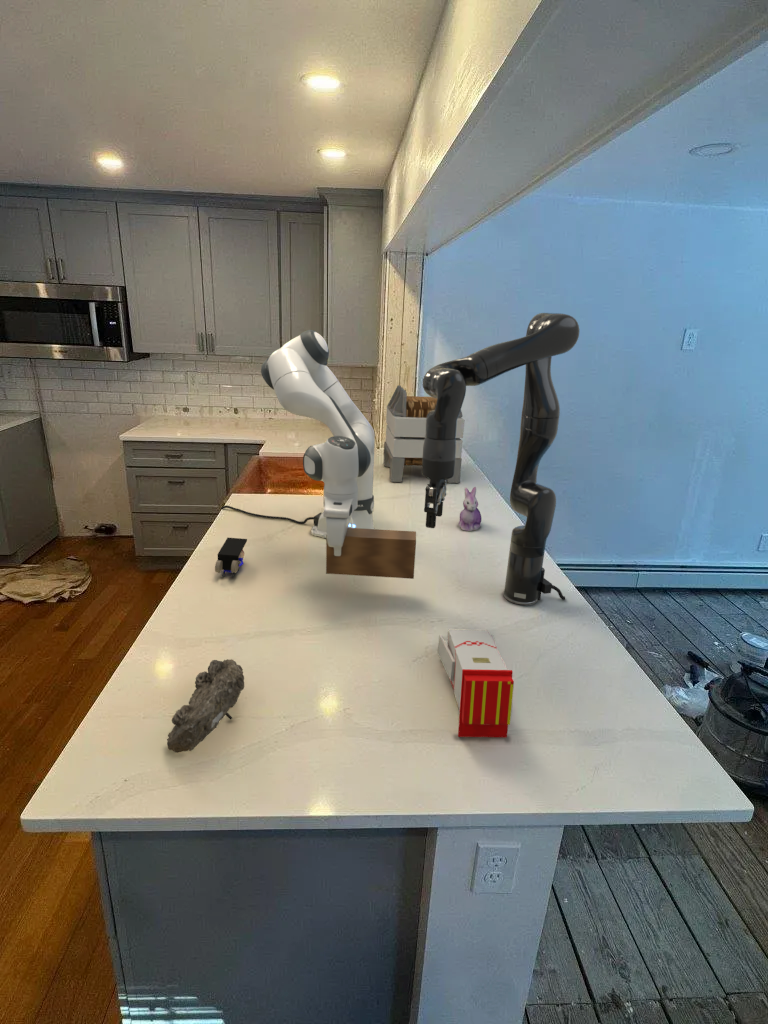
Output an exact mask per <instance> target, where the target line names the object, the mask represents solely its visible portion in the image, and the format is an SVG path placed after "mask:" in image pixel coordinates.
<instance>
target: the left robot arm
mask: <svg viewBox="0 0 768 1024" xmlns="http://www.w3.org/2000/svg"><path fill="white" fill-rule="evenodd" d="M329 357H330V349H329V346H328V343H327V341H326V340H325V338H324V337H323V336H322V335H321V334H320V333H319V332H318V331H316V330H314V329H307V330H305V331H302V332H301V333H300V334H299V335H297V336H295V337H294V338H292V339H290V340H289V341H287V342H286V343H284V344H283V345H282V346H281V347H280V348H278V349H276V350H274V351H273V352H272V353H271V354H270V355H269V356H268V357H267V358H266V359H265V360H264V361H263V362H262V363H261V367H260V374H261V377H262V379H263V380H264V382H265V383H266V384H267V386H268V387H270V389H272V390H273V391H274V393H275V396H276V398H277V401H278V402H279V404H280V405H281V407H282V408H283V409H284V410H285V411H287V412H288V413H290V414H292V415H296V416H299V417H300V416H301V417H304V418H305V417H306V418H310V419H313V420H316V421H318V422H321V423H322V424H324V425H325V426H326V427H327V428H328V429H329V431H330V432H331V434H332V436H330V437H328V438H327V439H326V440H325V442H321V443H317V444H313V445H310V446H308V447H307V449H306V450H305V452H304V454H303V456H302V467H303V471H304V473H305V475H307V476H308V477H309V478H310V479H312V480H313V481H316V482H323V512H319V513H317V514H316V515H313V516H309V517H306V518H305V519H304V520H303V521H300V520H299V521H298V520H295V519H293V518H292V517H291V518H290V517H286V516H273V515H264V514H258V513H253V512H249V511H245V510H243V509H240V508H236V507H233V506H231V505H223V506H221V508H220V510H224V509H230V510H233V511H236V512H240V513H242V514H245V515H248V516H252V517H258V518H263V519H272V520H284V521H290V522H292V523H295V524H298V525H304V524H306V523H307V522H308V521H311V520H312V521H313V526H312V528H311V530H310V533H311V536H315V537H319V538H323V539H326V535H327V543H328V546H329V547H334V555H335V556H341V553H342V548H341V547H342V546H343V542H344V539H345V536H346V532H347V529H348V528H360V529H376V528H375V523H374V513H373V512H374V509H375V496H374V474H375V473H374V472H375V471H374V467H375V446H376V445H375V444H376V443H375V442H376V433H375V430H374V427H373V426H372V425H371V423H370V422H369V420H368V419H367V418H366V416H365V415H364V414H363V413H362V411H361V410H360V409H359V408H358V406H357V405H356V404H355V402H354V401H353V400H352V399H351V397H350V395H349V394H348V393H347V390H345V388H344V387H343V385H342V383H341V382H340V381H339V379H338V378H337V377H336V375H335V373H333V371H332V370H331V368H329V367H328V366H327V365H328V359H329Z"/></svg>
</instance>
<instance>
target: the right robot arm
mask: <svg viewBox="0 0 768 1024" xmlns="http://www.w3.org/2000/svg"><path fill="white" fill-rule="evenodd" d="M579 338H580V325H579V322H578V321H577V319H576V318H575V317H573V316H572V315H569V314H566V313H559V312H558V313H557V312H539V313H537V314H535V315H534V316H533V317H532V318H531V319H530V320H529V323H528V325H527V329H526V333H525V336H523V337H519V338H515V339H512V340H511V339H510V340H508V341H502V342H498V343H495V344H492V345H489V346H487V347H483V348H482V349H479V350H477V351H474V352H473V353H471V354H468V355H467V356H465V357H461V358H456V359H453V360H450V361H446V362H445V361H444V362H442V363H439V364H437V365H435V366H432V367H431V368H430V369H428V370H427V371H426V373H425V374H424V376H423V378H422V389H423V391H424V392H425V394H427V396H428V397H433V398H437V403H436V407H435V410H432V411H430V412H429V413H428V414H427V418H426V429H425V440H424V445H423V459H422V466H421V476H423V477H424V478H428V480H429V483H427V485H426V488H425V495H424V497H425V498H424V509H423V512H424V513H426V514H425V515H426V516H425V527H426V528H428V529H435V528H436V525H437V517H442V515H443V510H444V501H445V500H446V498H445V497H446V496H447V483H448V482H447V479H450V478H452V477H453V475H454V465H455V453H456V428H457V419H458V416H459V413H460V411H461V412H462V407H463V404H464V401H465V397H466V393H467V387H476V386H480V385H483V384H485V383H487V382H489V381H491V380H493V379H495V378H497V377H500V376H501V375H504V374H507V373H508V372H510V371H512V370H515V369H518V368H520V367H523V366H525V374H524V376H525V377H524V389H523V402H522V409H521V416H520V417H521V419H520V426H519V438H518V448H517V456H516V463H515V468H514V473H513V478H512V482H511V487H510V492H509V503H510V504H509V505H510V507H511V509H512V510H513V511H514V512H516V513H517V514H520V515H522V516H524V517H526V520H525V525H517V526H515V527H514V528H513V529H512V531H511V535H510V543H509V552H508V559H507V565H506V574H505V582H504V588H503V598H504V599H505V600H506V601H508V602H510V603H512V604H515V605H520V606H531V605H534V604H536V603H538V602H539V601H541V599H542V594H544V595H547V594H551V593H552V590H554V591H555V592H557V594H558V596H559V599H561V600H562V601H565V600H566V596H565V595H563V592H562V590H561V589H560V588H559V587H557V586H556V585H554V584H553V583H552V582H550V581H549V580H547V579H546V578H545V573H546V572H545V571H546V569H545V567H543V564H544V558H545V552H546V545H547V540H548V537H549V535H550V533H551V531H552V526H553V521H554V516H555V511H556V508H557V496H556V493H555V491H554V490H553V489H552V488H550V487H548V486H545V485H543V484H540V483H537V482H538V481H537V476H538V471H539V465H540V462H541V460H542V458H543V457H544V455H545V454H546V453H547V451H548V450H549V449H550V447H551V446H552V445H553V443H554V442H555V440H556V438H557V436H558V430H559V423H560V416H561V408H560V407H561V406H560V402H559V398H558V394H557V392H556V388H555V385H554V382H553V378H552V357H555V356H558V355H559V356H560V355H563V354H566V353H568V352H570V351H571V350H572V349H573V348H574V347H575V345H576V344H577V342H578V340H579ZM430 505H433V506H432V507H430Z"/></svg>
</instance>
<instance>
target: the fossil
mask: <svg viewBox="0 0 768 1024" xmlns="http://www.w3.org/2000/svg"><path fill="white" fill-rule="evenodd" d="M243 670H244V669H243V667H242V665H240V664H237V662H236V661H235V660H234V659H232V658H231V659H227V658H226V659H224V660H223V661H222V660H217V659H212V660H211V661H210V663H209V665H208V666H207V671H201V672H199V673H198V674H197V675H196V676H195V680H194V684H195V685H194V687H195V689H194V690H193V693H192V694H191V697H190V698H189V700H188V704H184V705H182V706H181V707H180V709H177V710H176V711H175V713H174V715H173V716H172V718H171V723H172V724H173V727H172V730H171V731H170V732H168V734H167V738H166V741H167V742H166V745H167V749H168V750H169V751H173V752H174V753H176V754H178V753H182V752H188V751H189V752H192V751H193V750H195V748H196V747H197V746H199V744H200V743H201V742H203V741H204V740H205V739H206V738H207V737H208V736H209V735H210V734H211V733H212V732H214V730H215V729H217V727H218V726H219V724H220V722H221V721H222V720H223V719H224V718H225V716H226V717H227V719H229V720H233V717H232V715H230V714H229V710H230V709H231V708H234V706H235V704H236V703H237V702H238V699H239V697H240V695H241V693H242V691H243V690H245V689H244V688H245V675H244V671H243Z"/></svg>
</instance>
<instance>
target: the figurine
mask: <svg viewBox="0 0 768 1024" xmlns="http://www.w3.org/2000/svg"><path fill="white" fill-rule="evenodd" d="M476 494H477V487H476V486H474V487H473V488H472V489H471V491H470V490H469V488H467V487H464V499H463V501H462V506H463V509H462V510H461V511H460V513H459V521H458V527H459V528H460V529H461V530H463V531H469V532H472V531H476V530H478V529H479V528H481V523H482V514H481V512H480V510H479V508H478V507H479V501H478V498H477V497H476Z"/></svg>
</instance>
